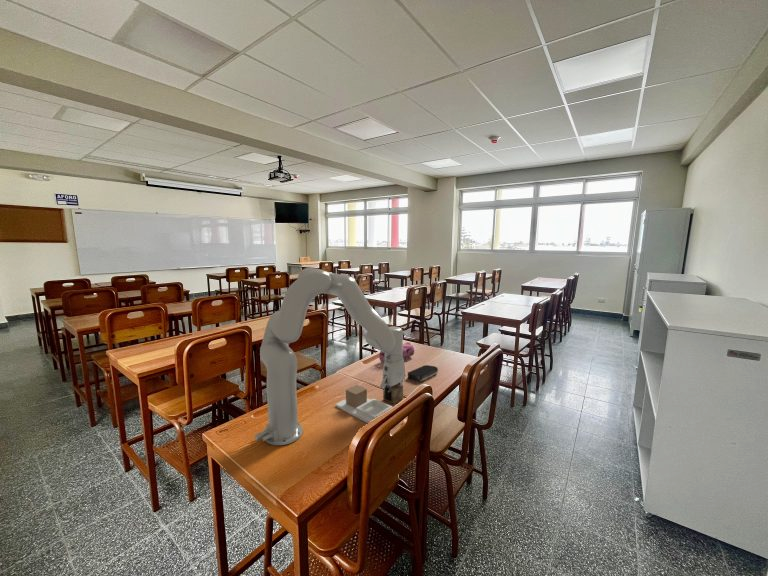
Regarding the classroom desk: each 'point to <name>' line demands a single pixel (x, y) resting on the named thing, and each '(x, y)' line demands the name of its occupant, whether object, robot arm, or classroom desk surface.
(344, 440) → the classroom desk surface
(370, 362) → the classroom desk surface
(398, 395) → the walnut block
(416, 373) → the black sponge
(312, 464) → the classroom desk surface
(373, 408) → the assembly board
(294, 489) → the classroom desk surface
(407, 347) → the pencil case
